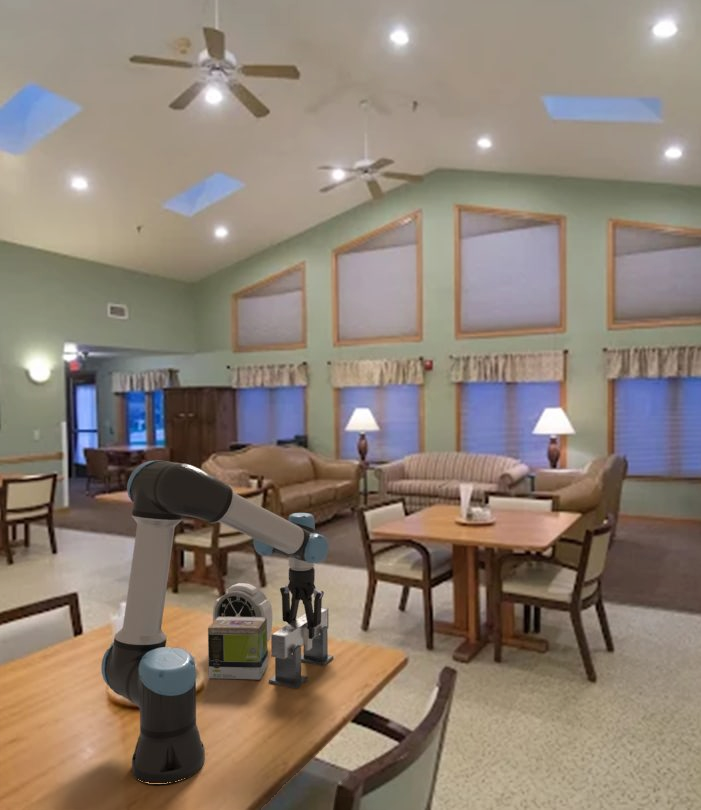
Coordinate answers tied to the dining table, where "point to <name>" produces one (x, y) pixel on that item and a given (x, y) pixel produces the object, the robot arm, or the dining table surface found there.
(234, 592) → the alarm clock
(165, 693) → the robot arm
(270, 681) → the post
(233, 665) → the tea box
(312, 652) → the post
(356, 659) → the dining table surface
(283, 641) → the rail
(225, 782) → the dining table surface
